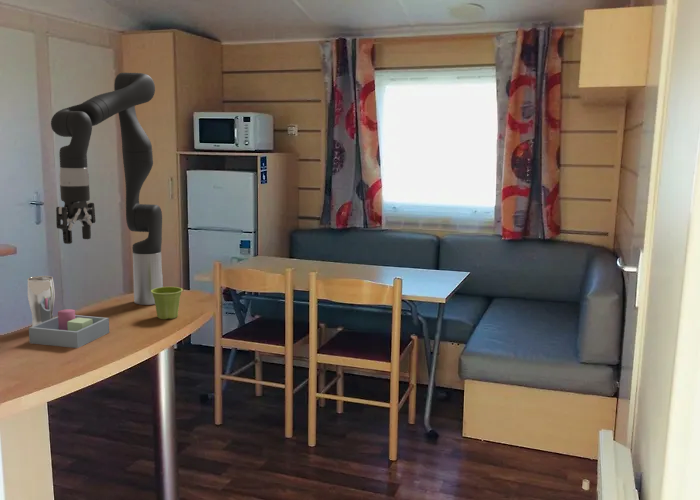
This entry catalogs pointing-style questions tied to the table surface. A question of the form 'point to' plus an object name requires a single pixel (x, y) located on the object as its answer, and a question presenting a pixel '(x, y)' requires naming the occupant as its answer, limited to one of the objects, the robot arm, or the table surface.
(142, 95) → the robot arm
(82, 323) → the sage block
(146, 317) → the table surface
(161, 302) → the plant pot
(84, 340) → the tub
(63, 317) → the plum cylinder
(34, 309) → the beer glass
